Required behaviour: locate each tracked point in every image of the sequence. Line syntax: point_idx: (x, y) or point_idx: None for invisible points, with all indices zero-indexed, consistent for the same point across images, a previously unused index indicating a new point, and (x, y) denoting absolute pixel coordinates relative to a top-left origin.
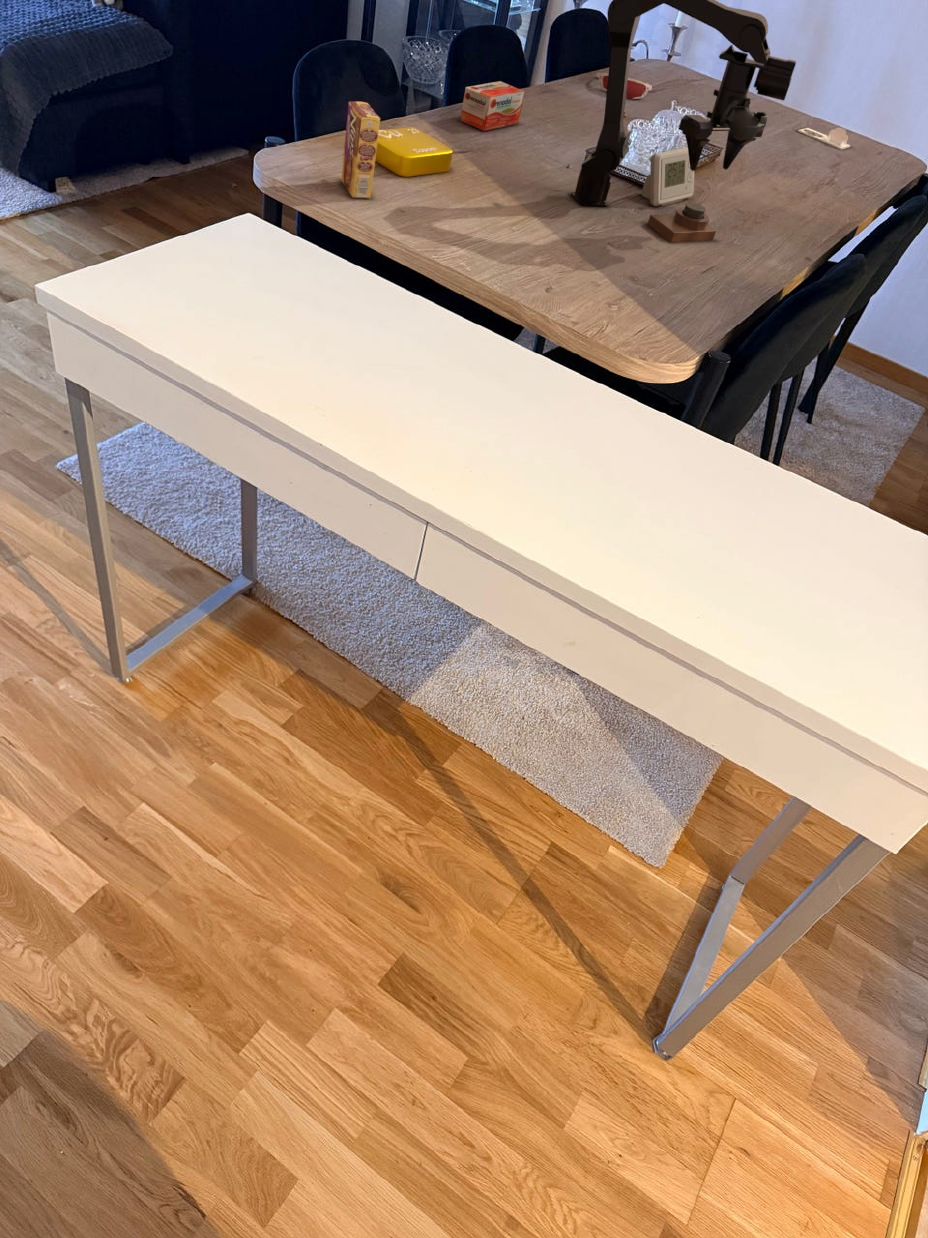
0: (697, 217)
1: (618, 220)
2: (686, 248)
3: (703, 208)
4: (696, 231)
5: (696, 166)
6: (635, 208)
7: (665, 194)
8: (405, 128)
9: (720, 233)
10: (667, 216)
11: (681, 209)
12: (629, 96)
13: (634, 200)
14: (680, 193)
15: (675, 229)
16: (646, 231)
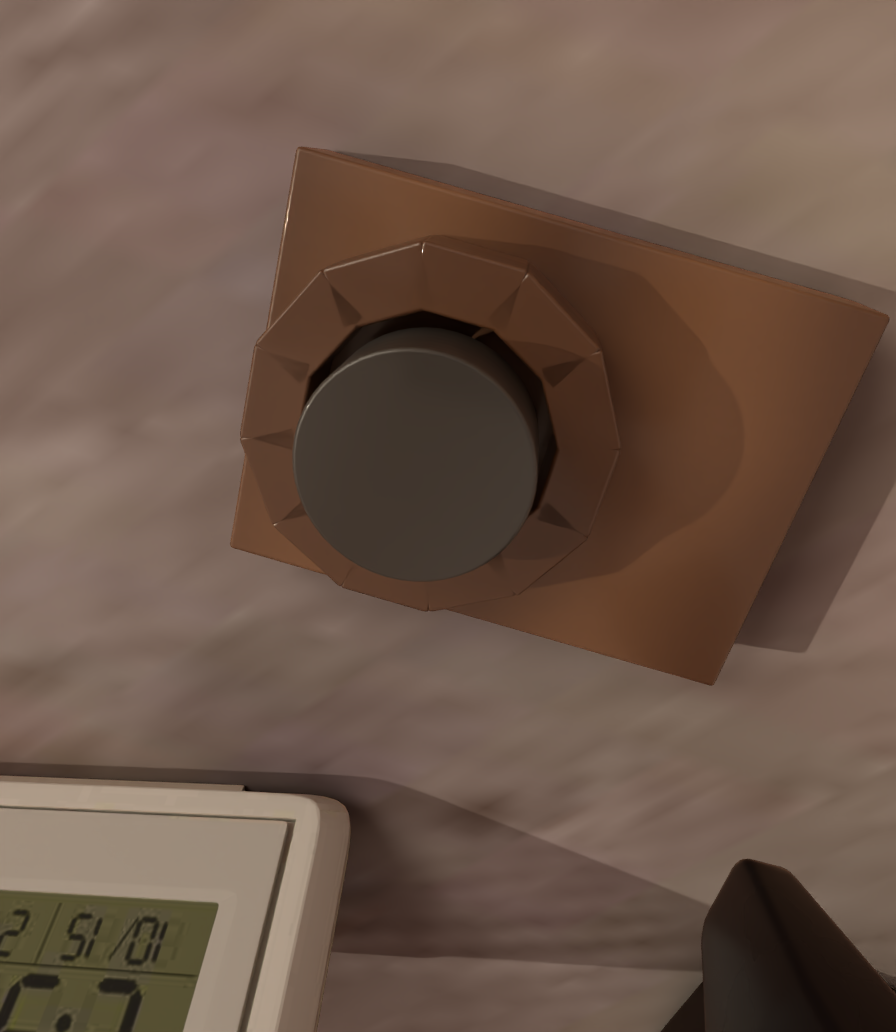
0: (480, 345)
1: (884, 773)
2: (818, 126)
3: (348, 393)
4: (577, 228)
5: (792, 931)
6: (514, 836)
7: (220, 846)
8: None
9: (94, 237)
10: (568, 596)
11: None
12: None
13: (397, 907)
14: (19, 816)
15: (792, 363)
16: (849, 555)
